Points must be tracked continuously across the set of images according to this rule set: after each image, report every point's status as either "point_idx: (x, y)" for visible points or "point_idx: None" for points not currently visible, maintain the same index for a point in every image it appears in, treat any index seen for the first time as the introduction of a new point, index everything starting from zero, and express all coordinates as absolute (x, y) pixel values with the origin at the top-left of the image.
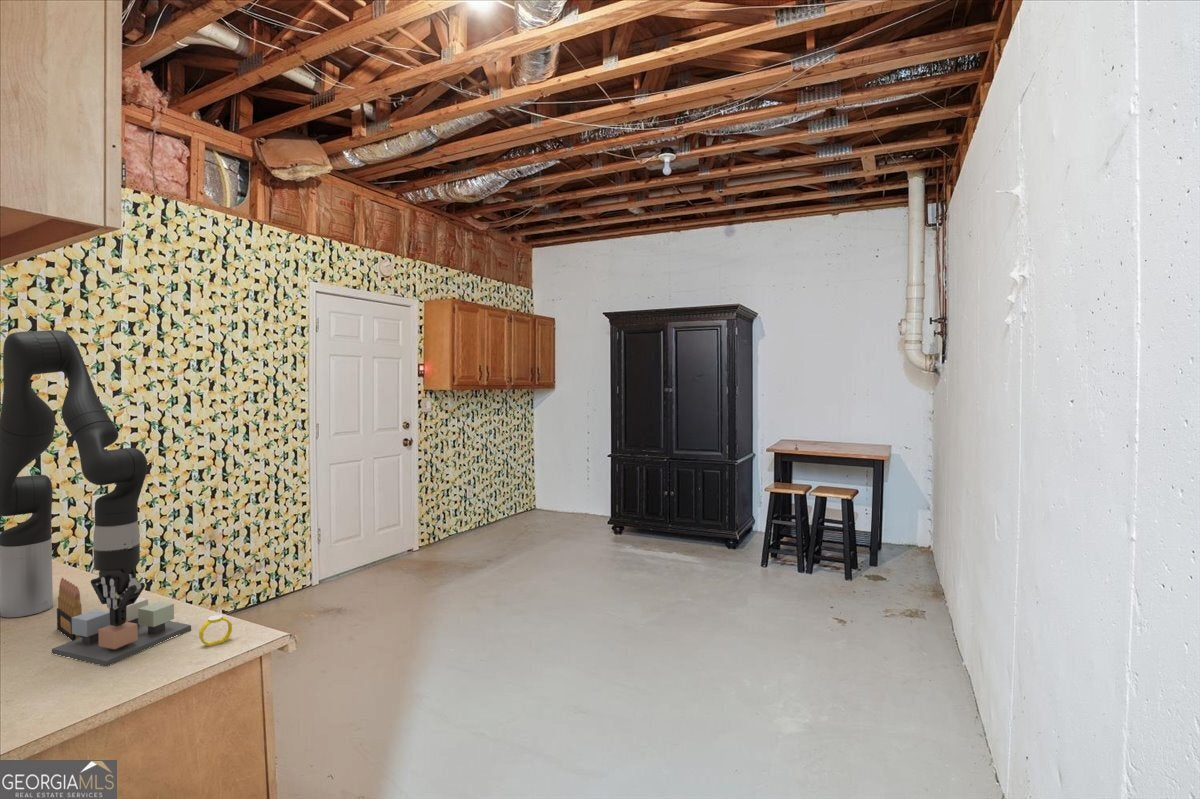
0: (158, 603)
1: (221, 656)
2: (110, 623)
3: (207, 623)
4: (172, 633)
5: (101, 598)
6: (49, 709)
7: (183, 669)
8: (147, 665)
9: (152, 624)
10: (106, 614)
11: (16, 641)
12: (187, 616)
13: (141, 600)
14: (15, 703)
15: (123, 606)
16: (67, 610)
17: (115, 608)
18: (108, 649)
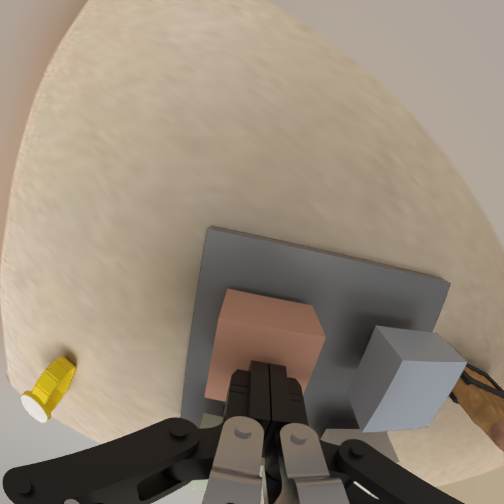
0: None
1: (12, 309)
2: (283, 368)
3: (36, 391)
4: (181, 410)
5: (371, 465)
6: (162, 15)
7: (22, 244)
8: (102, 252)
9: (207, 419)
10: (368, 420)
11: None
12: None
13: None
14: (278, 17)
15: (163, 424)
16: (494, 398)
17: (238, 422)
18: None
